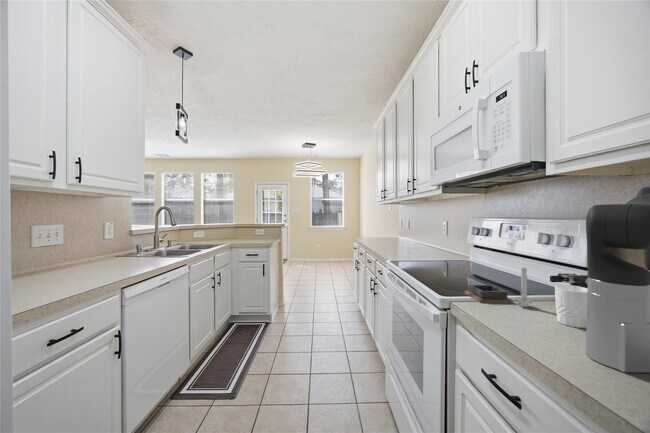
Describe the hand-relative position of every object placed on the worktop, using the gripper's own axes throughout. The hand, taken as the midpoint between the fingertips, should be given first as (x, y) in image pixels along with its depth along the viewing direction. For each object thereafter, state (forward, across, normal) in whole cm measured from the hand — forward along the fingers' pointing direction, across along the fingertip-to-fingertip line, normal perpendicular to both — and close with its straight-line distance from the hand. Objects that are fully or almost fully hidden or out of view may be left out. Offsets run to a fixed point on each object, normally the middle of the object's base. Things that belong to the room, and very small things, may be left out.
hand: (560, 282), depth 94 cm
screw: (+12, 0, +8) cm, 15 cm away
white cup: (+8, +14, +8) cm, 18 cm away
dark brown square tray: (+19, -9, +8) cm, 23 cm away
